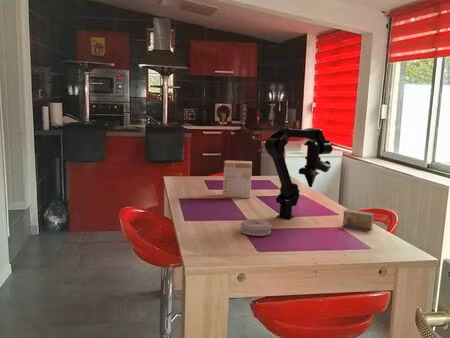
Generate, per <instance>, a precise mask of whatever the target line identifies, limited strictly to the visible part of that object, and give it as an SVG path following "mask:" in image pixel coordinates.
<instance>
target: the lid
mask: <svg viewBox="0 0 450 338" xmlns="http://www.w3.org/2000/svg"><path fill="white" fill-rule="evenodd" d="M271 230H272V224H271V223H270V222H269V221H266V220H263V219H255V218H254V219H252V218H251V219H245V220H243V221H242V222H241V223H240V232H241V233H243V234H244V235H248V236H255V237H256V236H257V237H259V236H260V237H262V236H269V235H270V234H271V233H272V231H271Z"/></svg>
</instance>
